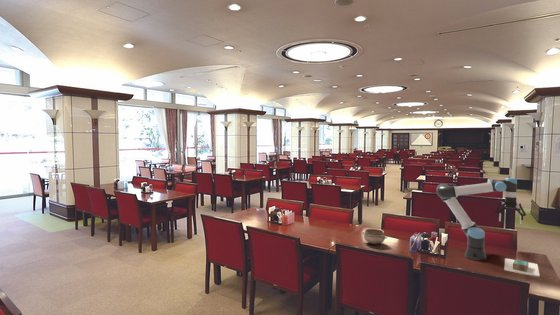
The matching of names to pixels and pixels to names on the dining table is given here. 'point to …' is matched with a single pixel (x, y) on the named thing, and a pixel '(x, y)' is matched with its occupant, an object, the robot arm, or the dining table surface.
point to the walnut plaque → (520, 265)
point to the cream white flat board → (531, 270)
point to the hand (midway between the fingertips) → (510, 222)
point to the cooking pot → (374, 236)
